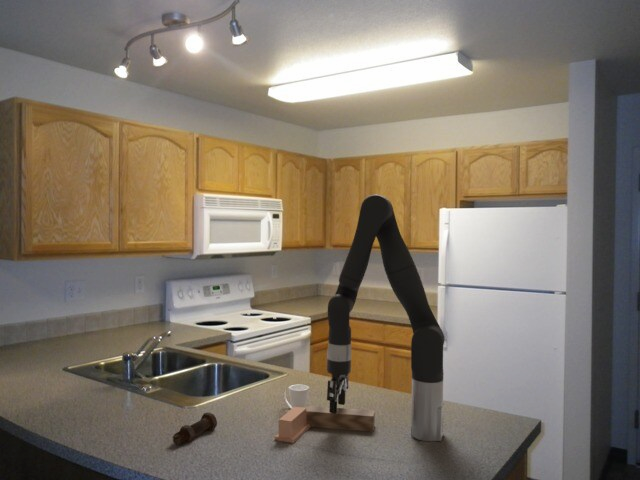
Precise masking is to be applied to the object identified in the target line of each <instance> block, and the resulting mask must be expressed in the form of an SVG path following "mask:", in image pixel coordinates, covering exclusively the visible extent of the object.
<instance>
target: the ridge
mask: <svg viewBox="0 0 640 480" xmlns="http://www.w3.org/2000/svg"><path fill="white" fill-rule="evenodd" d="M308 429H310V424H307V423H306V408H302V407H295V406H294V407H293V408H292V409H291V408H290V409H289V410H288V411H287V412H286V413H285V414H283V415H282V416H281V417H280V418H279V419H278V433H277V434H276V435H275V436H274V441H278V442H285V443H291V444H294V443H296V442H297V440H298V439H299V438H301V436H303V435H304V434H305V433H306V432H307V431H308Z"/></svg>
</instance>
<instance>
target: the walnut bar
mask: <svg viewBox="0 0 640 480" xmlns="http://www.w3.org/2000/svg"><path fill="white" fill-rule="evenodd" d="M305 408H306V423H307V424H310V427H313V428H322V429H323V428H324V429H325V428H326V429H337V430H350V431H360V432H362V431H363V432H371V433H372V432H374V429H375V416H376V415H375V414H376V413H375V412H376V411H375V410H369V409H368V410H367V409H357V408H345V407H344V408H342V407H337V413H335V414H334V413H330V412H329V409H330V406H329V407H328V406H327V407H326V406H317V405H316V406H314V405H306V407H305ZM310 427H309V428H310Z"/></svg>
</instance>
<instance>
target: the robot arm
mask: <svg viewBox="0 0 640 480" xmlns="http://www.w3.org/2000/svg"><path fill="white" fill-rule="evenodd" d="M393 207H394V206H393V205H392V202H391V201H390V199H388V198H386V197H385V196H382V195H380V194H371V195H368V196H367V197H365V198H364V199H363V200H362V203H361V206H360V209H359V215H358V221H357V226H356V229H355V233H354V236H353V238H352V239H353V240H352V243H351V245H350V248H349V251H348V254H347V257H346V259H345V261H344V264H343V266H342V269H341V271H340V275H339V277H338V278H339V279H338V286H337V289H336V292H335V293H334V295H333V296H332V297H331V298H330V299H329V301H328V303H327V320H328V327H329V328H328V329H329V330H328V345H327V349H326V350H327V351H326V354H327V355H326V358H327V359H326V372H327V373H328V374H331V375H332V376H331V379H330V380H328V381H327V390H326V401H329V407H330V409H329V412H330V413H334V414H335V413H337V408H338V405H341V406H344V405H345V404H346V394H347V390H348V389H349V374H351V372H352V370H351V369H352V327H351V325H350V315H351V312H352V310H353V309H354V306H355V304H356V300H357V297H358V293H359V289H360V287H361V285H362V282H363V280H364V277H365V274H366V271H367V269H368V266H369V261H370V257H371V254H372V249H373V246H374V243H375V240H376V239H377V242H378V245H379V250H380V253H381V259H382V264H383V268H384V272H385V274H386V277H387V279H388V282H389V285H390V288H391V289H392V291H393V293H394V295H395V297H396V299H397V300H398V302H399V303H400V304H401V306H402V307H403V308H404V311H405V313H406V314H407V317H408V319H409V323H410V326H411V330H412V336H411V342H410V344H411V345H410V347H411V348H410V357H411V358H410V368H411V406H410V407H411V410H410V411H411V412H410V414H411V415H410V416H411V417H410V435H411V437H412V438H414V439H416V440H419V441H423V442H442V440H443V436H444V423H445V422H444V419H445V418H444V417H445V415H444V413H445V411H444V410H445V404H444V345H445V341H446V339H445V334H444V332H443V330H442V328H441V326H440V324H439V322H438V321H437V319H436V317H435V314H434V313H433V311H432V308H431V306H430V303H429V300H428V297H427V294H426V290H425V288H424V285H423V281H422V279H421V276H420V273H419V271H418V268H417V266H416V264H415V261H414V259H413V257H412V254H411V253H410V250H409V248H408V247H407V244H406V242H405V241H404V238H403V236H402V234H401V232H400V229H399V226H398V221H397V218H396V215H395V211H394V208H393Z"/></svg>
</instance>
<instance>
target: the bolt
mask: <svg viewBox="0 0 640 480" xmlns="http://www.w3.org/2000/svg"><path fill="white" fill-rule="evenodd" d="M217 425H218V421H217V418H216V416H215V415H214V414H213V413H212V412H204V413H203V414H202V416H201V418H200V419H199V420H198V421H197V422H195V423H193V424H191V425H189V424H184V425H182V426H181V427H180V429H179V431H178V432H176V433H174V434H173V435H172V442H173V443H174V444H175V445H176V446H177V445H178V446H179V445H182V444H183V443H191V442H192V441H193V439H194V438H195V437H196V436H198V435H199V434H201V433H203V432H204V431H209V432H213V431H215V429H216V427H217Z"/></svg>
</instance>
